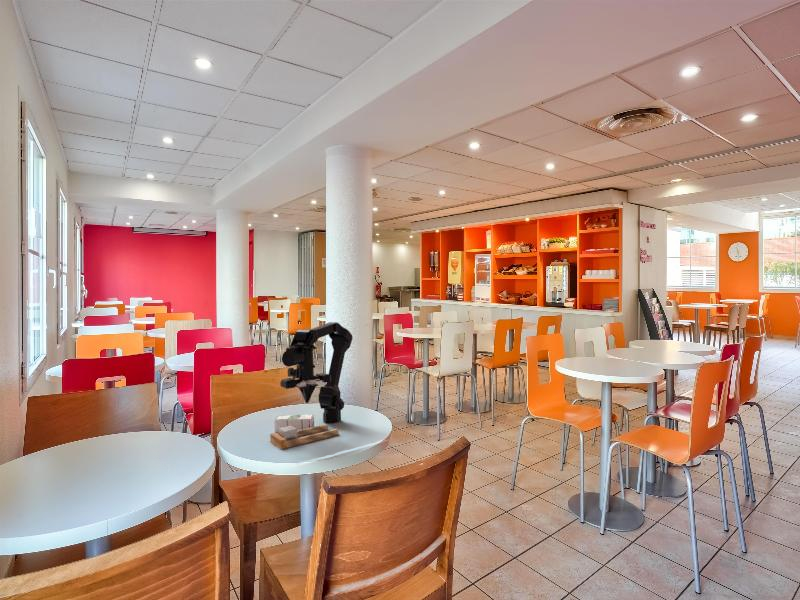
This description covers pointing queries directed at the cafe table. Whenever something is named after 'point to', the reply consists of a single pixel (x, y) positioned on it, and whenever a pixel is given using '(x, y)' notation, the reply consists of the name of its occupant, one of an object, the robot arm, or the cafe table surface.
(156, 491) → the cafe table surface
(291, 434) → the grey pink cube
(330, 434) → the brown shallow tray
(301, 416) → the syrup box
